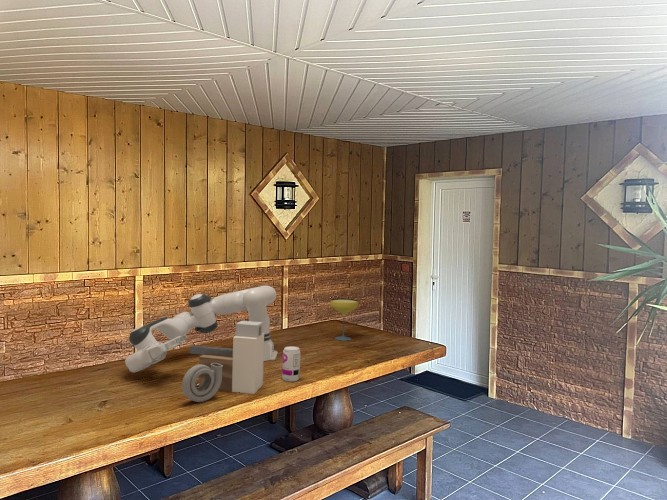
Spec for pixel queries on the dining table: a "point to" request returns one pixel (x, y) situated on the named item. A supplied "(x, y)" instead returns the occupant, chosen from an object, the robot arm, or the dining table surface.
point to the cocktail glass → (344, 310)
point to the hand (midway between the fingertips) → (181, 338)
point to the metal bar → (211, 351)
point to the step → (226, 370)
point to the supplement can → (291, 364)
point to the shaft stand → (248, 357)
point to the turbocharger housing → (209, 385)
